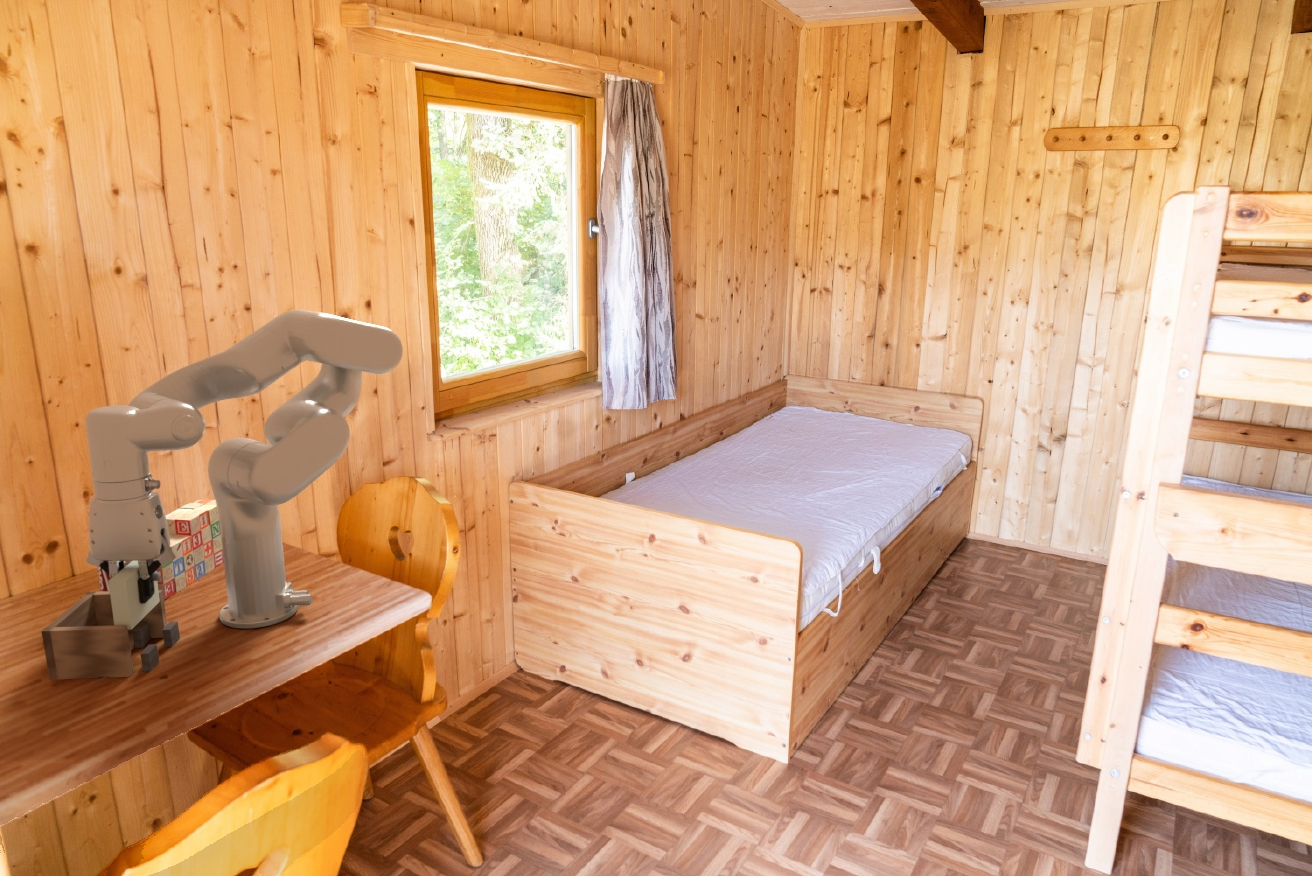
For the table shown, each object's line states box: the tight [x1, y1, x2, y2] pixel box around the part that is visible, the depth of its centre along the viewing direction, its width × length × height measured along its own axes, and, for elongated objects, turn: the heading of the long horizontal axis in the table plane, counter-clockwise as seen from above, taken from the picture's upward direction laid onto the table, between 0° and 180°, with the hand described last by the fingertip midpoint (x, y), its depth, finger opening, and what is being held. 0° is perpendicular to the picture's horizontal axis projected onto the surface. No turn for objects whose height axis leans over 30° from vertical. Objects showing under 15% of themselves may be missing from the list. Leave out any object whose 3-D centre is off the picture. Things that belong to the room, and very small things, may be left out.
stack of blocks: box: [155, 498, 224, 601], centre depth 172 cm, size 21×6×12 cm, turn 173°
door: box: [109, 559, 161, 630], centre depth 140 cm, size 3×10×8 cm, turn 6°
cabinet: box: [41, 590, 181, 681], centre depth 142 cm, size 14×14×8 cm
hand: (136, 599), depth 141 cm, fingers closed on door, 2 cm apart
